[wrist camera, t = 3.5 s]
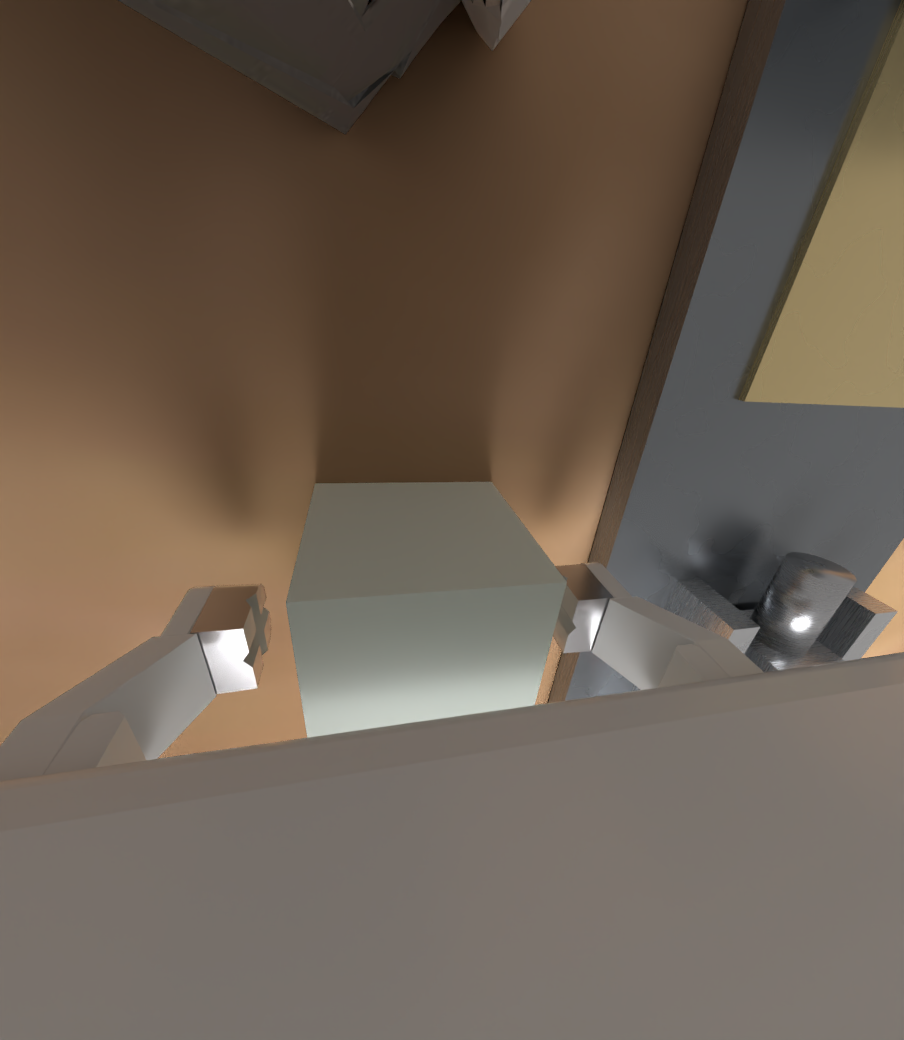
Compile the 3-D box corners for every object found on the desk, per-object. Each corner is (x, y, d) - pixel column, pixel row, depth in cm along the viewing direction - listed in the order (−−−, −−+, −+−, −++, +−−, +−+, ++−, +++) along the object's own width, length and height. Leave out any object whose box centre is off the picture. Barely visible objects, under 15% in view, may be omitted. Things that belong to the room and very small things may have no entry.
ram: (697, 733, 19) (858, 936, 13) (648, 741, 19) (792, 959, 12) (809, 542, 14) (1164, 729, 8) (746, 546, 13) (1076, 752, 7)
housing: (470, 632, 15) (517, 768, 10) (331, 645, 13) (318, 804, 9) (490, 480, 12) (566, 582, 7) (315, 482, 11) (286, 602, 6)
